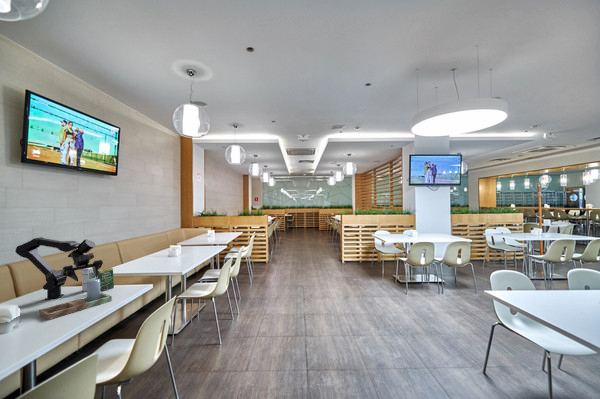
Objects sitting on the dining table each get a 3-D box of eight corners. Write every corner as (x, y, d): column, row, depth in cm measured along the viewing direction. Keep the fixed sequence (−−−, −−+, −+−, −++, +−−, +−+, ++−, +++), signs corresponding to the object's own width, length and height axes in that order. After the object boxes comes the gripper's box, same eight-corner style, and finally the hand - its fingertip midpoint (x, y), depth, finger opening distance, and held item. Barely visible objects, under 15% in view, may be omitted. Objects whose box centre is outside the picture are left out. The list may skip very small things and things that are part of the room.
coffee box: (99, 291, 164) (99, 271, 164) (97, 290, 166) (97, 270, 166) (114, 287, 171) (113, 268, 171) (112, 287, 172) (111, 267, 173)
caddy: (47, 320, 125) (47, 314, 125) (39, 314, 131) (39, 310, 131) (111, 300, 148) (111, 296, 148) (101, 296, 154) (101, 292, 154)
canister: (91, 301, 148) (90, 279, 148) (102, 299, 149) (102, 278, 150) (84, 305, 142) (84, 282, 142) (96, 303, 144) (96, 281, 144)
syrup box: (89, 291, 166) (88, 268, 166) (81, 290, 167) (81, 268, 167) (97, 288, 171) (97, 266, 171) (90, 287, 172) (89, 266, 173)
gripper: (62, 252, 145) (70, 274, 139) (101, 246, 161) (110, 266, 155) (57, 265, 149) (65, 286, 143) (95, 258, 165) (104, 277, 159)
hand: (87, 278), depth 150 cm, fingers open, 9 cm apart
